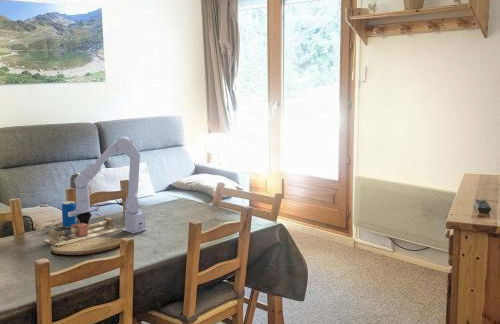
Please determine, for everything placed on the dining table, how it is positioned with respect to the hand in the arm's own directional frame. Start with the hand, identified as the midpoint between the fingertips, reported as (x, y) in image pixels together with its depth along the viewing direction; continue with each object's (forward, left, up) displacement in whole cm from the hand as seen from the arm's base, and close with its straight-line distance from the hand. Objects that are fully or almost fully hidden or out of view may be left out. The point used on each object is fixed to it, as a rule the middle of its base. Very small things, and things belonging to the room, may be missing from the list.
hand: (84, 229), depth 228 cm
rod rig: (-3, +2, -2) cm, 4 cm away
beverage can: (+16, -2, -2) cm, 16 cm away
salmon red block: (-2, +4, -1) cm, 4 cm away
